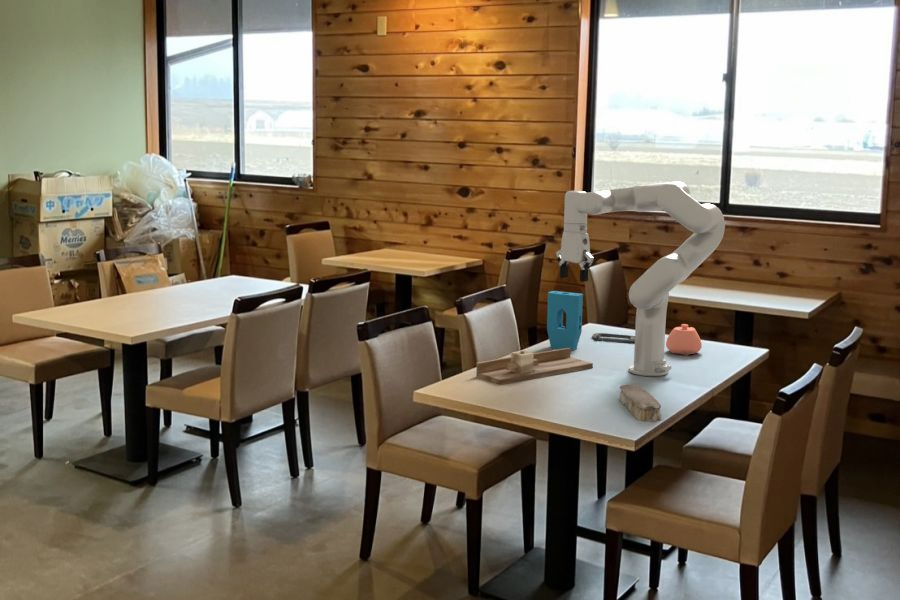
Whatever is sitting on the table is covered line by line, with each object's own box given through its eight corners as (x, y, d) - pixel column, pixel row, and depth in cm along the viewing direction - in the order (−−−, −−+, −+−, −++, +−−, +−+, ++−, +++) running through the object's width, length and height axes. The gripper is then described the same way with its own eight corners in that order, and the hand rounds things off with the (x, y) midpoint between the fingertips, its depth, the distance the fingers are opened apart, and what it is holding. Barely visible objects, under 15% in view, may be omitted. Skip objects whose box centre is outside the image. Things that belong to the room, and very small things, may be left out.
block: (545, 347, 353) (547, 292, 349) (551, 344, 357) (553, 290, 354) (576, 351, 347) (578, 295, 343) (581, 348, 351) (583, 294, 347)
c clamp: (649, 340, 369) (649, 333, 369) (637, 349, 354) (638, 341, 353) (597, 335, 377) (597, 328, 377) (584, 343, 362) (584, 336, 362)
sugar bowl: (659, 352, 346) (660, 324, 344) (678, 346, 356) (680, 319, 355) (690, 358, 338) (691, 329, 336) (709, 351, 348) (711, 323, 347)
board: (592, 367, 323) (593, 354, 323) (499, 384, 301) (499, 370, 300) (568, 360, 333) (568, 347, 332) (476, 376, 311) (476, 362, 310)
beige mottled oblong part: (666, 422, 265) (667, 405, 264) (639, 423, 264) (640, 405, 263) (639, 398, 289) (640, 382, 288) (615, 399, 288) (615, 382, 287)
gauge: (541, 370, 313) (542, 350, 312) (512, 375, 306) (512, 355, 305) (531, 367, 317) (531, 347, 316) (502, 372, 310) (502, 352, 309)
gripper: (601, 230, 318) (600, 282, 321) (566, 225, 332) (564, 275, 335) (584, 231, 314) (583, 284, 317) (549, 226, 328) (548, 277, 331)
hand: (573, 279), depth 326 cm, fingers open, 9 cm apart
